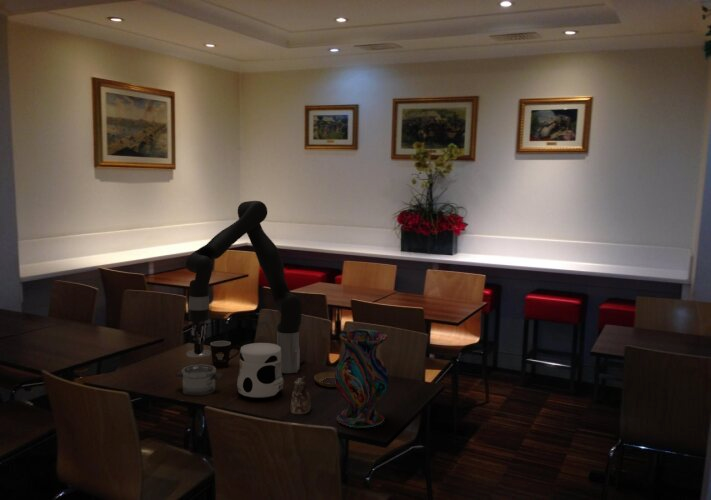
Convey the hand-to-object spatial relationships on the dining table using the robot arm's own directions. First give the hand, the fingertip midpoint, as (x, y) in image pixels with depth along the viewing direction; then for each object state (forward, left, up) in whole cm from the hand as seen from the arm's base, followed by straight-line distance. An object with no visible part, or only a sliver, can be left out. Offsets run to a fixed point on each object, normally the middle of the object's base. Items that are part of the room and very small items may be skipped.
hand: (198, 351), depth 235 cm
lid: (0, 0, -1) cm, 1 cm away
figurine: (-42, +13, -15) cm, 47 cm away
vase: (-64, +18, -15) cm, 68 cm away
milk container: (-24, 0, -15) cm, 29 cm away
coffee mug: (0, -30, -15) cm, 34 cm away
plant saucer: (-49, -18, -16) cm, 54 cm away
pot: (0, 0, -15) cm, 15 cm away
